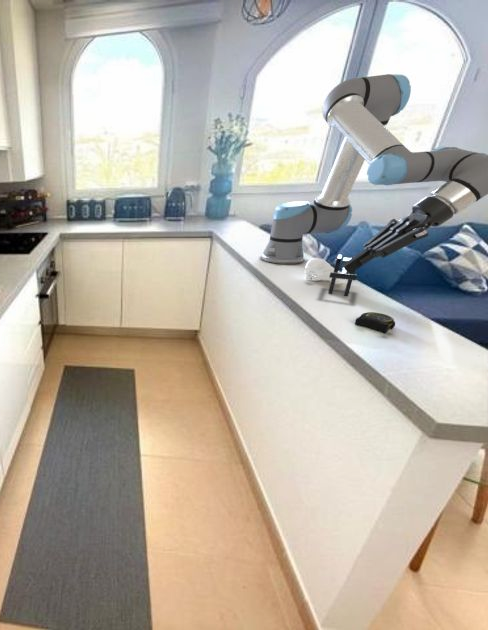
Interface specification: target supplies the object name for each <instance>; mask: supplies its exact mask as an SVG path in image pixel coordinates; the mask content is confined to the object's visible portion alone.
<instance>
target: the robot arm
mask: <svg viewBox="0 0 488 630" xmlns="http://www.w3.org/2000/svg"><path fill="white" fill-rule="evenodd" d="M410 83H411V82H410V79H409V78H408V77H407V76H406V75H404V74H400V73H398V74H397V73H393V74H392V73H386V74H379V75H371V76H363V77H351V78H348V79H346V80H344V81H342V82H340V83H338V84H337V85H336V86H334V87H333V89H331V90H330V92H328V94H327V95H326V97H325V99H324V101H323V104H322V108H321V109H322V112H321V113H322V116H323V119H324V121H325V122H326V123H327V124H328V126H329V127H331V128H336V129H338V130H339V131H340V133H341V134H342V135H343V136H344V137H343V140H342V143H341V145H340V148H339V150H338V152H337V155H336V157H335V160H334V162H333V165H332V166H331V170H330V172H329V175H328V177H327V180H326V181H325V184H324V187H323V189H322V191H321V194H320V193H319V194H318V195H316V196H315V198H314V200H313V203H311V204H310V202H309V201H306V200H297V201H289V202H283V203H280V204H279V205H277V206H276V207H275V209H274V212H273V215H272V223H271V229H270V235H269V240H268V242H267V244H266V247H265V249H264V250H263V251H262V253H261V260H262V261H265V262H267V263H271V264H278V265H295V264H300V263H302V262H303V261H304V257H305V256H304V248H303V237H304V235H311V234H330V233H336V232H339V231H342V230H344V229H345V228H346V227H347V226H348V224H349V223H350V221H351V219H352V216H353V213H352V212H353V207H352V205H351V201H350V199H349V198H348V197H349V195H350V193H351V192H352V189H353V187H354V185H355V182H356V180H357V178H358V176H359V174H360V171H361V170H362V167H363V165H364V163H365V162H366V163H367V164H368V167H367V170H366V176H367V180H368V182H369V183H370V184H372V185H375V186H382V185H383V186H392V185H401V184H402V185H403V184H415V183H416V184H417V183H429V182H432V183H433V182H445V183H444V184H442V185H441V186H439V187H438V188H437V189H435V190H434V191H432V192H431V193H429V196H425V197H424V198H422V199H420V200H419V201H418V202H416V203H415V204H414V205H413V206H412V207H411V213H409V214H407V215H405V216H404V217H402V219H399V220H396V219H395V218H392V219H391V220H389V221H388V223H386V225H385V226H384V227H383V228H381V229H380V230H379V231H378V232H377V233H376V234H374V235H373V236H372V237H371V238H370V239H368V240H367V241H366V242H365V243H364V244H363V247H364V250H362V251H361V252H359V253H357V254H356V255H355V256H353V257H351V258H352V259H350V260H349V261H347V262H346V263H344V264H343V265H342V267H343V268H344V269H345V270H346V271H347V272H346V273H347V274H350V273H352V272H353V271H355V272H356V271H357V270H358V269H359V268H361V267H363V266H364V265H365V264H367V263H369V262H370V261H371V260H373V259H375V258H381V259H384V258H386V257H388V256H390V255H392V254H394V253H397V251H399V250H401V249H403V248H405V247H407V246H408V245H411V244H412V243H415V242H417V241H419V240H421V239H424V238H426V237H429V236H430V233H429V232H428V231H427V230H428V229H430V228H431V227H435V228H437V227H440V226H441V225H443V224H444V223H446V222H447V221H450V219H452V218H453V217H454V215H458V214H459V213H461V212H462V211H465V210H467V209H468V208H469V207H470V206H471V205H473V204H475V203H476V202H478V201H480V200H481V199H482V198H484V197H486V196H487V195H488V153H483V152H476V151H471V150H467V149H462V148H460V147H459V148H458V147H456V146H439V147H436V148H434V149H432V150H429V151H414V152H413V151H411V150H410V149H408V147H406V145H404V144H403V142H401V141H400V140H399V139H398V138H397V137H396V136H395V135H394V134H393V133H392V132H391V131H390V130H389V129H388V128H387V127H386V126H388V123H389V121H390V120H391V118H392V117H394V116H396V115H398V114H399V113H401V111H403V110H404V109H405V108H406V106H407V104H408V102H409V100H410V97H411V91H412V89H411V88H412V87H411V84H410ZM343 268H342V269H343Z"/></svg>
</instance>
